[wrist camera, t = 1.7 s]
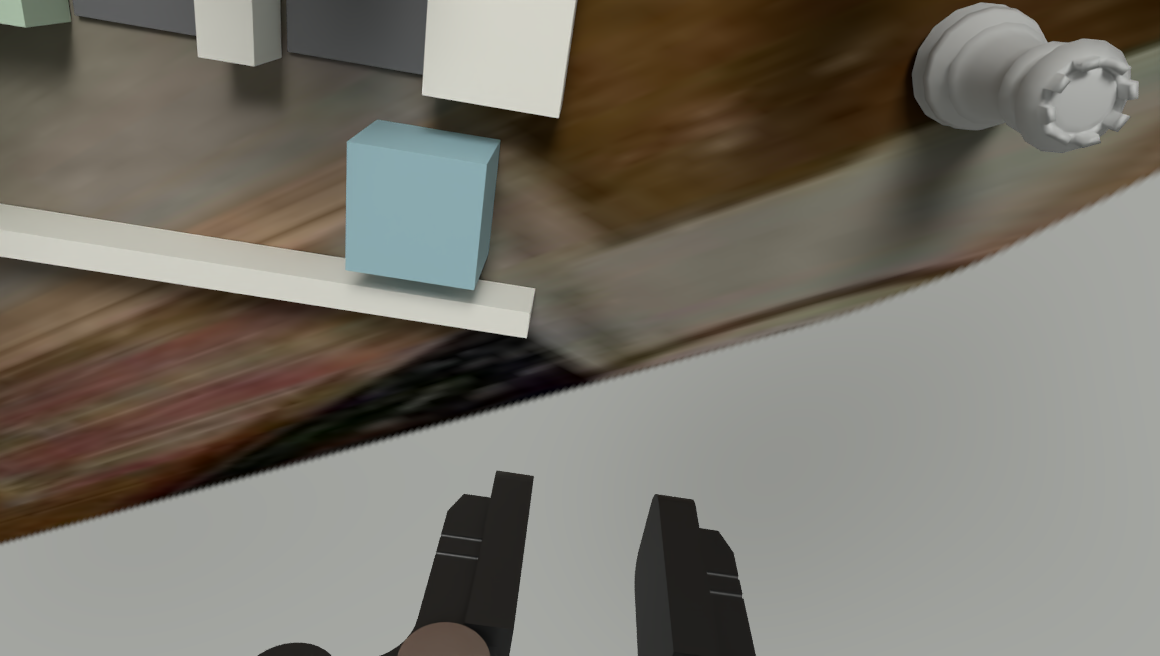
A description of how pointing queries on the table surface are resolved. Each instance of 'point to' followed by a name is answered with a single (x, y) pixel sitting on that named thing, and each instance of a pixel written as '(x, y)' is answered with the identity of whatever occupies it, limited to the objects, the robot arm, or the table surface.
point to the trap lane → (341, 32)
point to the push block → (420, 203)
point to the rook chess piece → (1021, 79)
